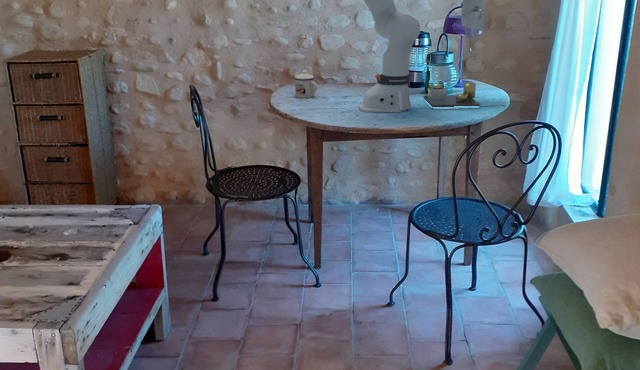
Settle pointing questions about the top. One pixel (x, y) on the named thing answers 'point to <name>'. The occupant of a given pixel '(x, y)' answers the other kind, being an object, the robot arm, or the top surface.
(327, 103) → the top surface
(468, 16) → the robot arm
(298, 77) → the teacup with lid
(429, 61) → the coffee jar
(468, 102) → the tribrach plate
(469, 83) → the brown boot
